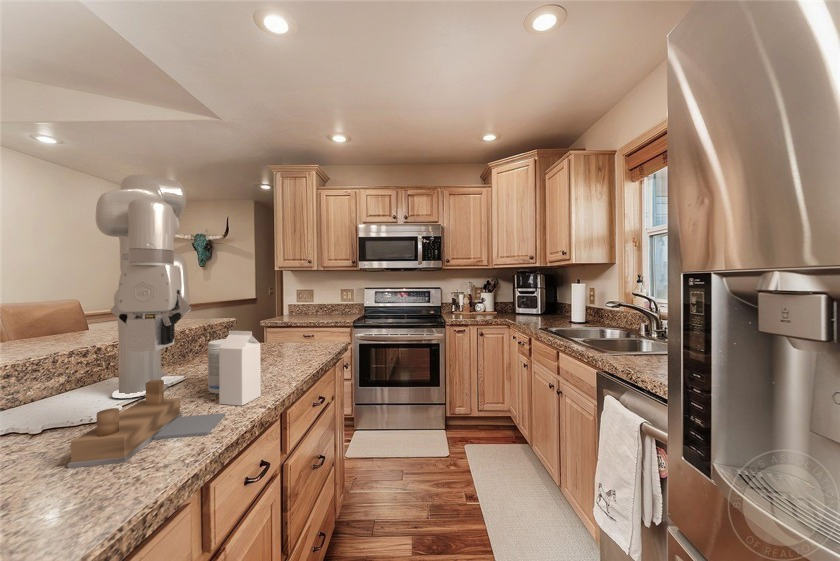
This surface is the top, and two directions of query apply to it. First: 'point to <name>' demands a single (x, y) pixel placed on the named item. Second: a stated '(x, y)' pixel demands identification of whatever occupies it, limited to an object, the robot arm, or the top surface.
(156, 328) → the grey block with knob
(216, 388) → the supplement tub
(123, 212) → the robot arm
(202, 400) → the top surface
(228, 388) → the milk carton
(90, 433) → the body
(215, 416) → the mat
